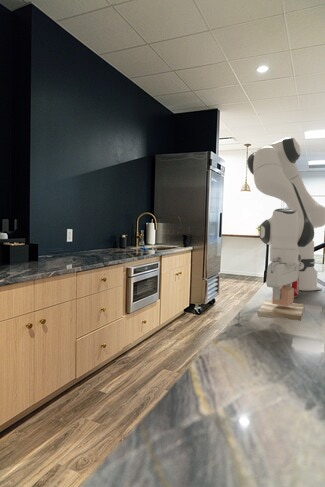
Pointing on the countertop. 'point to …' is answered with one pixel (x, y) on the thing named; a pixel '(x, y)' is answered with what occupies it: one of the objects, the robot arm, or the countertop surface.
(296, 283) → the soda can
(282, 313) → the pin plate
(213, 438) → the countertop surface
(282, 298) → the block
